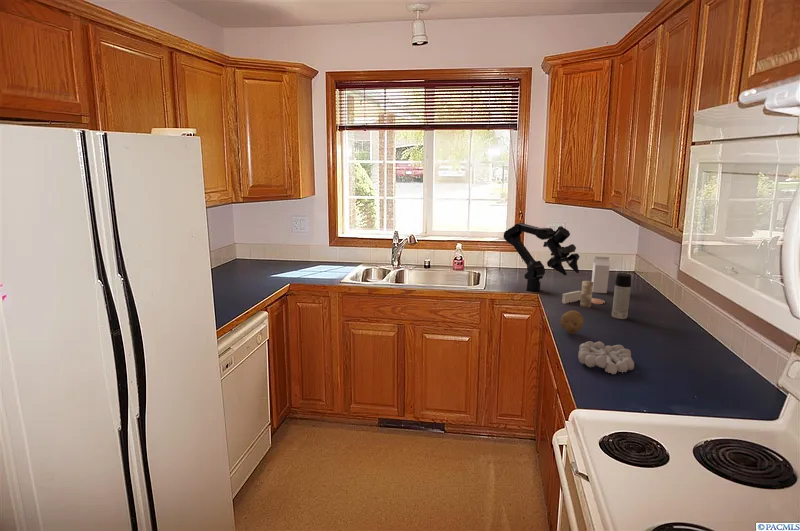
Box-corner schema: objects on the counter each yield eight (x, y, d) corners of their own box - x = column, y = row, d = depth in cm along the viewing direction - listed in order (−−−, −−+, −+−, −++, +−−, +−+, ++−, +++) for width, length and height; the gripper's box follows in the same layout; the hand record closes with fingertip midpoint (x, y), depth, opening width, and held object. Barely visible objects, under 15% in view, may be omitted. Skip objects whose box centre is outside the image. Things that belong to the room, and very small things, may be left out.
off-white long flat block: (564, 303, 263) (565, 294, 262) (561, 302, 264) (562, 293, 263) (580, 300, 269) (581, 291, 268) (577, 299, 271) (578, 290, 270)
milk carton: (606, 293, 283) (610, 258, 278) (592, 292, 284) (596, 257, 280) (604, 290, 289) (608, 255, 285) (590, 289, 291) (594, 255, 287)
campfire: (561, 353, 199) (563, 338, 197) (611, 350, 203) (613, 335, 202) (595, 379, 178) (597, 363, 176) (650, 374, 182) (652, 358, 181)
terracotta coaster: (586, 303, 264) (586, 302, 264) (585, 298, 272) (585, 297, 272) (605, 305, 261) (605, 303, 261) (604, 300, 270) (604, 299, 270)
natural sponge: (576, 339, 213) (578, 315, 211) (555, 334, 219) (557, 310, 217) (585, 334, 220) (588, 310, 218) (565, 328, 226) (567, 306, 224)
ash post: (580, 306, 258) (582, 282, 255) (579, 303, 263) (582, 280, 260) (591, 307, 257) (593, 283, 254) (590, 304, 261) (593, 281, 259)
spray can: (627, 316, 244) (632, 273, 240) (626, 320, 238) (631, 276, 234) (612, 314, 247) (616, 272, 243) (611, 318, 241) (615, 275, 237)
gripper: (553, 240, 260) (570, 266, 254) (577, 237, 271) (594, 262, 264) (539, 254, 268) (555, 279, 262) (564, 250, 279) (580, 275, 272)
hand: (572, 273), depth 264 cm, fingers open, 9 cm apart
